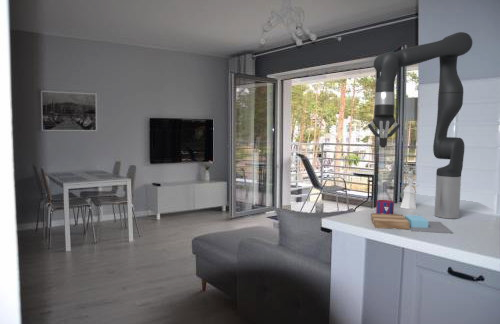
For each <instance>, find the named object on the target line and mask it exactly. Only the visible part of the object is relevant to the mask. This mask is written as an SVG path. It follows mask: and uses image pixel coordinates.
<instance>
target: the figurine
mask: <svg viewBox="0 0 500 324" xmlns="http://www.w3.org/2000/svg"><path fill="white" fill-rule="evenodd" d="M415 175H417V173H414V170H413V169H411V170H410V171H407V177H406V180H407V184H408V185H406V186H405V187H404V188H403V190H402V191H403V195H402V196H403V197H402V199H401V200H402V201H401V204H400V206H399V208H401V209H405V210H416V209H417V206H416V199H415V198H416V197H415V196H416V193H417V192H416V190H415V188H414V187H418V186H420V184H414V182H415V180H414V178H413V177H414V176H415Z"/></svg>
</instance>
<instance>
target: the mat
mask: <svg viewBox="0 0 500 324" xmlns="http://www.w3.org/2000/svg"><path fill="white" fill-rule="evenodd" d="M428 221H429V220H428ZM410 230H411V232H419V231H421V232H422V233H423V232H424V233H441V234H443V233H444V234H454V231H452V230H451V229H450V228H448V227H447V226H446V225H445V224H443V223H442V221H431V220H430V221H429V223H428V228H422V227H411V226H410ZM410 230H409V231H410Z"/></svg>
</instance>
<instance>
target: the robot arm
mask: <svg viewBox="0 0 500 324" xmlns="http://www.w3.org/2000/svg"><path fill="white" fill-rule="evenodd" d="M472 47H473V39H472V36H471V35H470V34H469V33H467V32H464V31H463V32H462V31H459V32H454V33H453V34H450V35H447V36H445V37H444V38H442V39H440V40H437V41H433V42H428V43H424V44H418V45H415V46H409V47H406V48H403V49H399V50H397V51H387V52H384V53H380V54H379V55H377V56H376V58H374V61H373V68H374V70H376V71H377V72H379V73H380V74H379V77H377V79H376V82H375V94H374V111H373V112H374V113H373V119H372V121H371V122H370V123H368V124H367V128H368V129H369V131H370V132H371V133H372V135H374V136H375V137H376V138H378V140H379V141H378V145H379V147H380V148H385V147H387V146H388V138H390V137H393V135H394V134H395V133H396V132H397V131H398V130H399V128H400V127H401V124H400V123H397V122H396V119H395V103H396V101H395V100H396V98H395V83H396V82H395V80H396V78H397V74H398V70H399V68H404V67H409V66H414V65H417V64H421V63H424V62H425V63H426V62H427V61H430V60H434V59H436V58H438V59H439V81H438V83H439V85H438V93H437V95H438V97H437V113H436V114H437V115H436V127H435V132H434V140H433V146H432V151H433V152H432V153H433V155H434V157H435V158H436V159H438V160H449V162H448V164H446V165H445V166H441V167H438V168H437V169H436V173H435V176H436V178H435V197H434V200H435V201H434V217H437V218H441V219H442V218H443V219H450V220H452V219H453V220H454V219H459V218H460V206H461V205H460V203H461V185H462V184H461V183H462V182H461V180H462V171H463V166H464V157H465V142H464V140H463V138H461V137H456V136H454V137H452V136H451V137H450V136H448V131H449V127H450V125H451V123H452V121H454V119H455V117H456V116H457V115H458V114H459V112H460V111H461V109H462V107H463V101H464V86H463V83H462V81H461V79H460V75H458V69H457V65H458V57H461V56H464V55H465V54H467V53H468V52H470V50H471V49H472ZM374 127H376V128H377V130H378V132H377V131H376V129H375V128H374ZM392 127H393V128H392ZM390 128H392V129H391V131H390V132H389V130H390Z"/></svg>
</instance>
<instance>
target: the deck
mask: <svg viewBox="0 0 500 324" xmlns="http://www.w3.org/2000/svg"><path fill="white" fill-rule="evenodd" d="M370 220H371V223H372V225H373V224H374V225H373V226H375V227H374V228H375V229H376V228H377V229H388V228H396V229H395V230H407V229H410V222H409V221H408V220H407V219H406V218H405V215H403V214H394V213H393V214H376V212H375V213H373V212H371V213H370Z"/></svg>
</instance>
